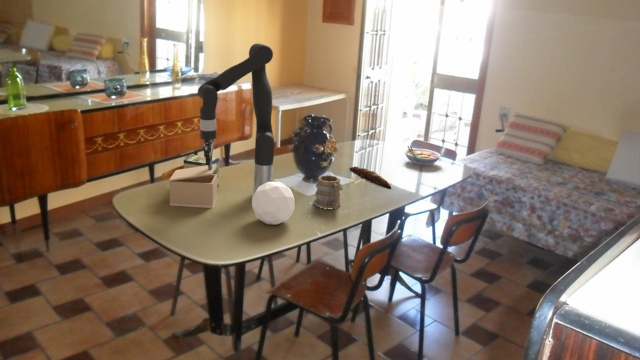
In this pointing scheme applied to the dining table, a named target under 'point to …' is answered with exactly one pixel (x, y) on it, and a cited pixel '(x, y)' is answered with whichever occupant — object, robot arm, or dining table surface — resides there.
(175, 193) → the carton
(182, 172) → the lid flap
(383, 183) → the bread
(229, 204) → the dining table surface
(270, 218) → the ball
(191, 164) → the protein box
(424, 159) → the ramen bowl
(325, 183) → the tankard
